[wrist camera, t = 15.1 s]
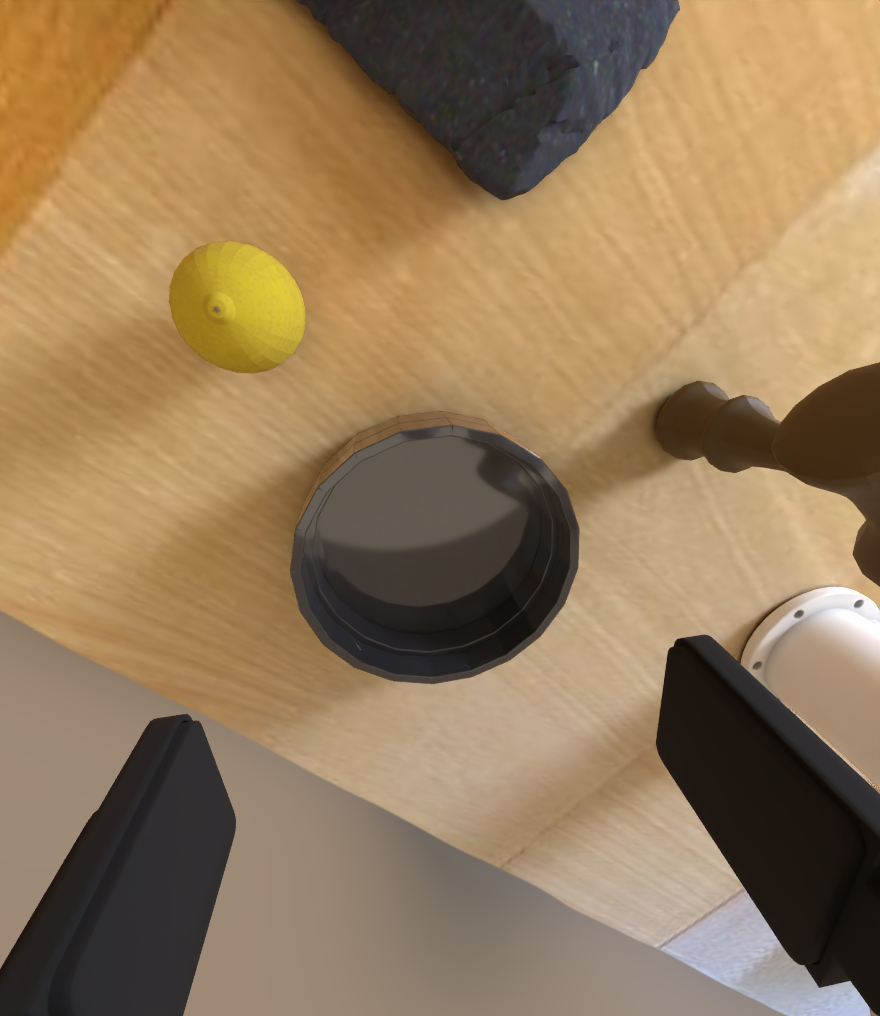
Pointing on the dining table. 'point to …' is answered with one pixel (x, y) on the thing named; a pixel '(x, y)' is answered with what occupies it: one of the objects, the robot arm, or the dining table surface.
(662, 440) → the kendama
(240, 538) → the dining table surface
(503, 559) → the pan
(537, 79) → the dark slate chunk
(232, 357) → the lemon
